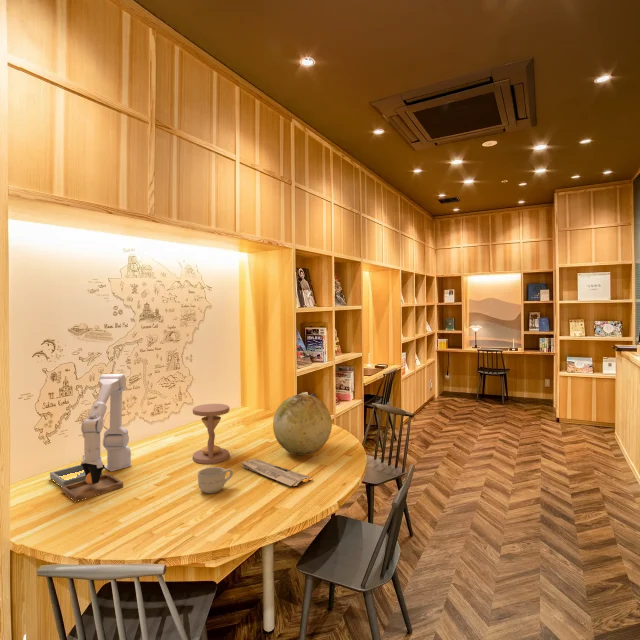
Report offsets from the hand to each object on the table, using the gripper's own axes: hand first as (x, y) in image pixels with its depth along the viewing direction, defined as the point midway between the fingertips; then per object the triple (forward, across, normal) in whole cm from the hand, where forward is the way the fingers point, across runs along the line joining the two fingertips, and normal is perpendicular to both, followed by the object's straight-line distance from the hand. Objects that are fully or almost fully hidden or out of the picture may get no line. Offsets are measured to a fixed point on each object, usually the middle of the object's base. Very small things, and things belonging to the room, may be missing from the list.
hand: (92, 481), depth 169 cm
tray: (+3, 0, 0) cm, 3 cm away
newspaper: (+4, +44, +58) cm, 73 cm away
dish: (+3, -17, 0) cm, 17 cm away
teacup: (+4, +38, +32) cm, 50 cm away
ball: (-1, 0, 0) cm, 1 cm away
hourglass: (+4, +6, +53) cm, 53 cm away
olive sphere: (+4, +36, +87) cm, 94 cm away
